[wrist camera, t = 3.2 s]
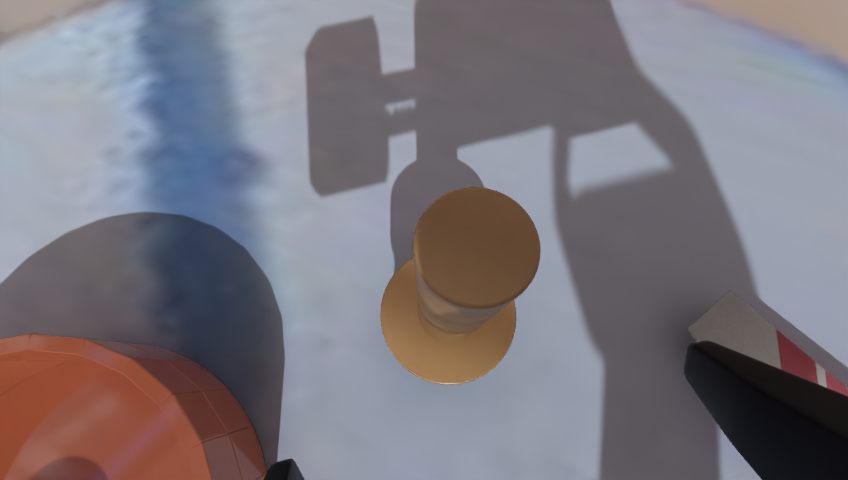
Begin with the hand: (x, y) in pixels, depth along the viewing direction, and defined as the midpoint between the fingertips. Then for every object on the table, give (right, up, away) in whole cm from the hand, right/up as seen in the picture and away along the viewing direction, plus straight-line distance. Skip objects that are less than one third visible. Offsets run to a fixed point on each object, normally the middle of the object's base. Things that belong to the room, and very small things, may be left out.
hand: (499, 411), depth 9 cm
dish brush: (-1, 0, +10) cm, 10 cm away
